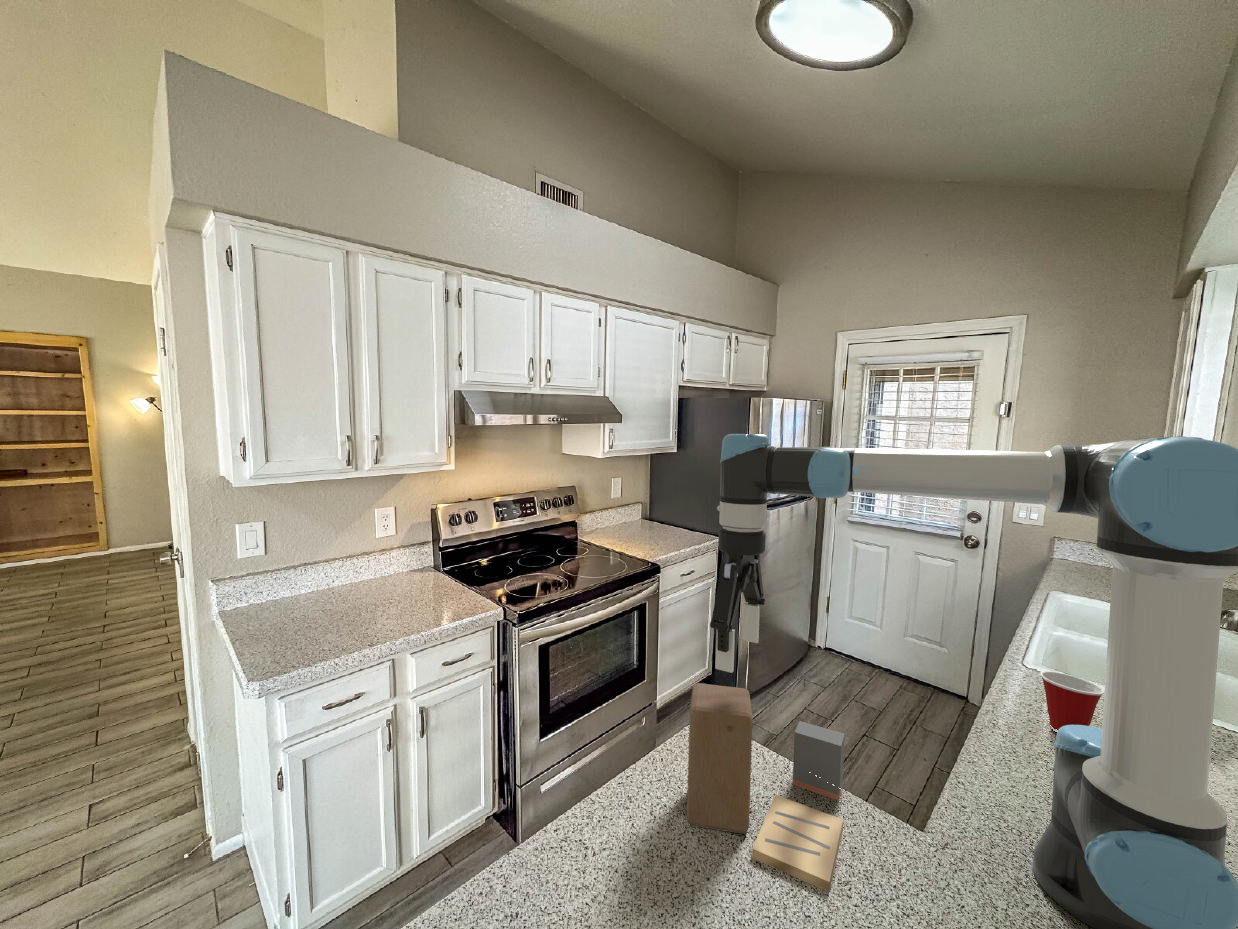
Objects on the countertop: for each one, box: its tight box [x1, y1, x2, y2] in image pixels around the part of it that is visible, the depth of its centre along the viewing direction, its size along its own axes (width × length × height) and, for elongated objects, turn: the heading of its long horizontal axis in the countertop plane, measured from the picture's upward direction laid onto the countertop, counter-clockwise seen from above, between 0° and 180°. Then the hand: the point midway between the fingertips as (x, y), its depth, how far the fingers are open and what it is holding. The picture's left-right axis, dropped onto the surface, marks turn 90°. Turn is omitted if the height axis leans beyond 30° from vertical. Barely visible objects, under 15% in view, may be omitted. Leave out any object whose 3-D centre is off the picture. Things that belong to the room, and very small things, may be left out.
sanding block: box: [792, 720, 846, 801], centre depth 94 cm, size 8×4×10 cm, turn 59°
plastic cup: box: [1039, 671, 1105, 730], centre depth 113 cm, size 11×11×12 cm
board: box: [751, 794, 844, 893], centre depth 81 cm, size 11×14×2 cm
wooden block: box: [686, 682, 753, 835], centre depth 87 cm, size 10×10×20 cm
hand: (738, 654), depth 84 cm, fingers open, 13 cm apart
